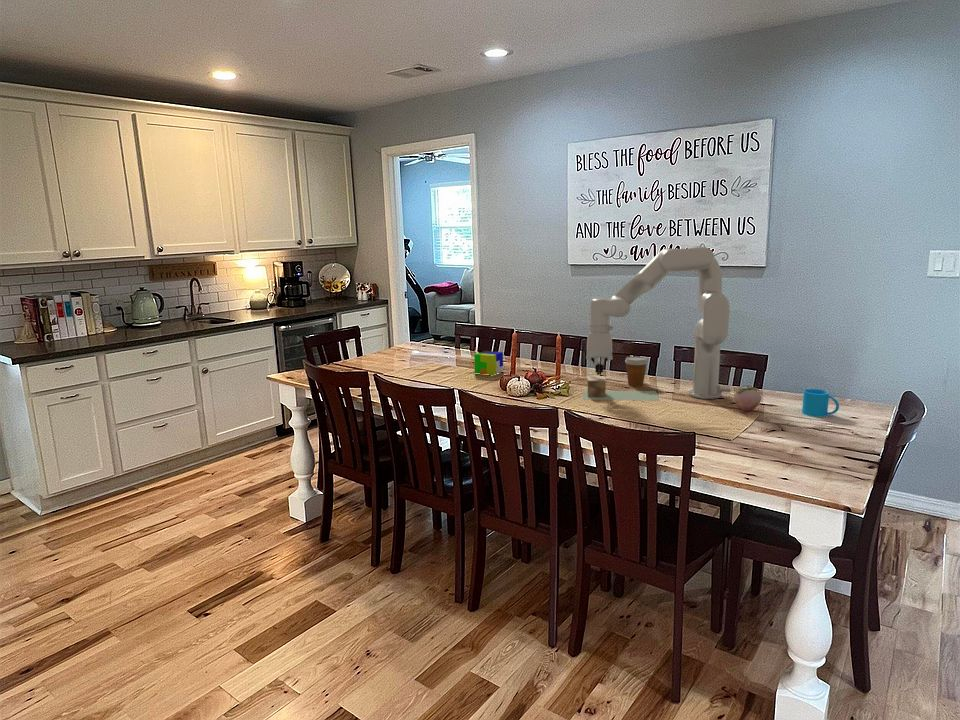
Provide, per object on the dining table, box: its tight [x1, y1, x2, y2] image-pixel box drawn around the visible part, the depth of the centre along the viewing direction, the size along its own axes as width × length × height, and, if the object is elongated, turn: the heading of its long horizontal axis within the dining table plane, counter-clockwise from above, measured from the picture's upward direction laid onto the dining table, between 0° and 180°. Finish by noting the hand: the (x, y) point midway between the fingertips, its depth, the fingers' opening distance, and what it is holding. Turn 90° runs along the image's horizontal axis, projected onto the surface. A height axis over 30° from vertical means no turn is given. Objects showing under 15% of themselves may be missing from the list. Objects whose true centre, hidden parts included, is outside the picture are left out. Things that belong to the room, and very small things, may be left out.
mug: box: [801, 388, 840, 418], centre depth 230 cm, size 12×8×8 cm
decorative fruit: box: [733, 385, 762, 413], centre depth 235 cm, size 9×8×10 cm
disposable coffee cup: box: [624, 356, 649, 387], centre depth 278 cm, size 10×10×12 cm
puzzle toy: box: [473, 350, 504, 375], centre depth 308 cm, size 10×10×10 cm
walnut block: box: [587, 375, 607, 397], centre depth 263 cm, size 7×7×7 cm
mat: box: [582, 389, 661, 402], centre depth 262 cm, size 30×15×1 cm, turn 82°
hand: (599, 373), depth 261 cm, fingers closed
